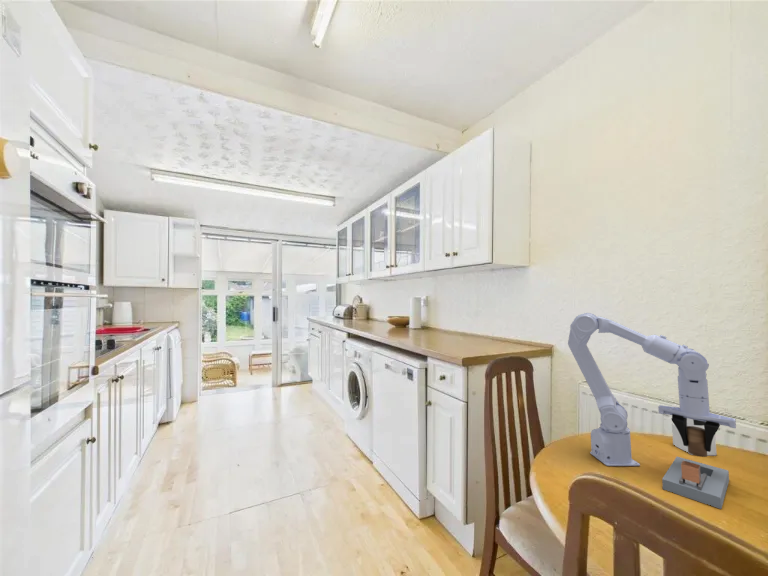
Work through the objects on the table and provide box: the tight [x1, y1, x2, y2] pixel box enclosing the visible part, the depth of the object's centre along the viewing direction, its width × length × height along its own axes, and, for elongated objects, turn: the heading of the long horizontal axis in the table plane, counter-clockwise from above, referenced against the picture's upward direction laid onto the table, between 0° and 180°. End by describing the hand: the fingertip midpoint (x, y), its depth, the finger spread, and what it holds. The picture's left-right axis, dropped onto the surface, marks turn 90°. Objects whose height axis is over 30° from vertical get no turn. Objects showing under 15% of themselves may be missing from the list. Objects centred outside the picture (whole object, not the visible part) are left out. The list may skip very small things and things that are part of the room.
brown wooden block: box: [687, 426, 708, 458], centre depth 83 cm, size 4×4×6 cm
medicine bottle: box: [671, 418, 717, 457], centre depth 99 cm, size 7×7×12 cm
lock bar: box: [681, 461, 701, 487], centre depth 78 cm, size 7×3×4 cm, turn 128°
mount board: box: [661, 456, 730, 510], centre depth 80 cm, size 18×10×3 cm, turn 128°
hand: (697, 447), depth 83 cm, fingers closed on brown wooden block, 4 cm apart
